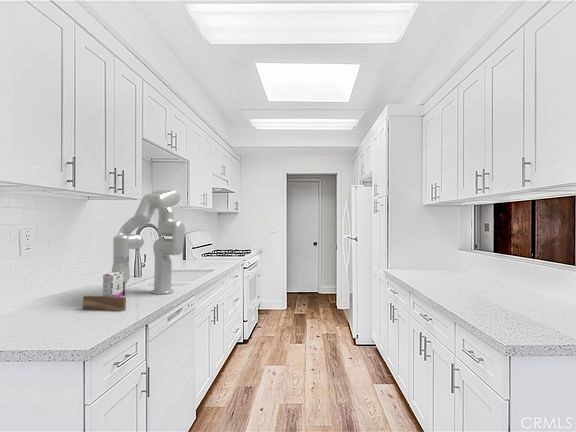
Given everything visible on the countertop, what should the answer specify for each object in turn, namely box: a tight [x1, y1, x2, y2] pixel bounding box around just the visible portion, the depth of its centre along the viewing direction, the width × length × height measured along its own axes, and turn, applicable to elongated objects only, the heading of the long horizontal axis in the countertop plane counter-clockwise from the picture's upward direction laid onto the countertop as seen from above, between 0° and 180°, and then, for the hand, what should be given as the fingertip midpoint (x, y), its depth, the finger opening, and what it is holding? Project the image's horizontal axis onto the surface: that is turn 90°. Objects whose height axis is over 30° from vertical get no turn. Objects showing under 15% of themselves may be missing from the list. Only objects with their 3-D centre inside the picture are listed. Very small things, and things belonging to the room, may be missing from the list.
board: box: [82, 295, 127, 312], centre depth 191 cm, size 2×20×6 cm, turn 84°
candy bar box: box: [102, 271, 124, 297], centre depth 197 cm, size 11×5×16 cm, turn 176°
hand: (120, 296), depth 206 cm, fingers closed
